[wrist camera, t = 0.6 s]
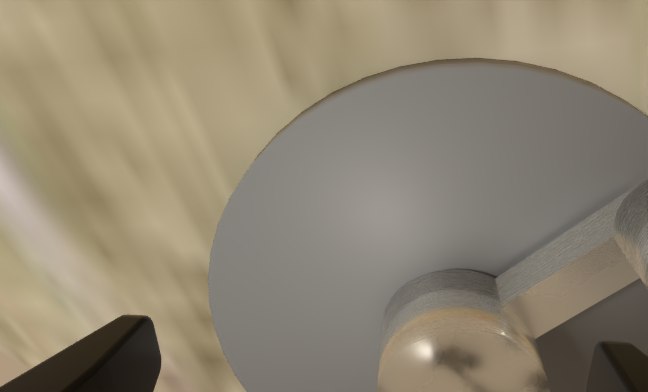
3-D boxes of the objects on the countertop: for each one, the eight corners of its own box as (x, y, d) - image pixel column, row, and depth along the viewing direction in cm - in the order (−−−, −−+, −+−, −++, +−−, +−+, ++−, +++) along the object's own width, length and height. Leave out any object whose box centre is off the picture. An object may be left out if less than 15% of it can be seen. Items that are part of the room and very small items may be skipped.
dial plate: (828, 327, 19) (862, 360, 17) (428, 515, 26) (428, 549, 25) (491, -79, 15) (499, -80, 14) (134, 274, 22) (115, 297, 21)
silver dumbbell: (445, 404, 20) (454, 541, 16) (353, 321, 19) (334, 442, 15) (754, 228, 16) (894, 351, 11) (654, 106, 15) (763, 186, 10)
